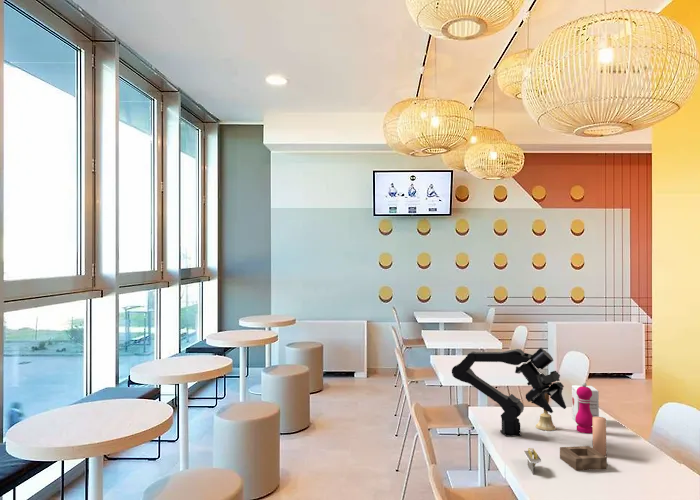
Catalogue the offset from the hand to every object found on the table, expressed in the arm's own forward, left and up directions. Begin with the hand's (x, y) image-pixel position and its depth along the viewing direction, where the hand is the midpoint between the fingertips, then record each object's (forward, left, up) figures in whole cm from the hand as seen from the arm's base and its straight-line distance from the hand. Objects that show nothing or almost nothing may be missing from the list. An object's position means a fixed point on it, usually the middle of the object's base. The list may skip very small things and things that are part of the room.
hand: (558, 410), depth 200 cm
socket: (-1, -18, -13) cm, 22 cm away
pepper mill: (+19, +15, -14) cm, 28 cm away
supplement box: (+26, +27, -14) cm, 40 cm away
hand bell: (+5, +21, -14) cm, 26 cm away
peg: (+10, -10, -13) cm, 20 cm away
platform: (-20, -21, -14) cm, 32 cm away
